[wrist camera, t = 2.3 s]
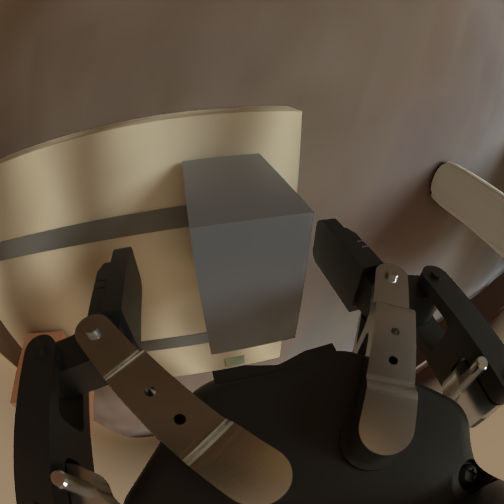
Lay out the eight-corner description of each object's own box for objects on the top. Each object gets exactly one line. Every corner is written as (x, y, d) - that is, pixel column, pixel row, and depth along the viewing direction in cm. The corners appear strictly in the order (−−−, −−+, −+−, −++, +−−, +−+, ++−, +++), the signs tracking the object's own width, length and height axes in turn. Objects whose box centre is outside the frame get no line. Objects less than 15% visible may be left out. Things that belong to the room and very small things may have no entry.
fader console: (286, 106, 14) (302, 111, 12) (273, 340, 26) (279, 357, 24) (-47, 181, 10) (-64, 195, 8) (56, 367, 22) (53, 385, 20)
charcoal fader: (259, 153, 13) (313, 212, 8) (258, 255, 17) (294, 337, 12) (182, 161, 12) (189, 228, 8) (195, 265, 16) (211, 354, 11)
